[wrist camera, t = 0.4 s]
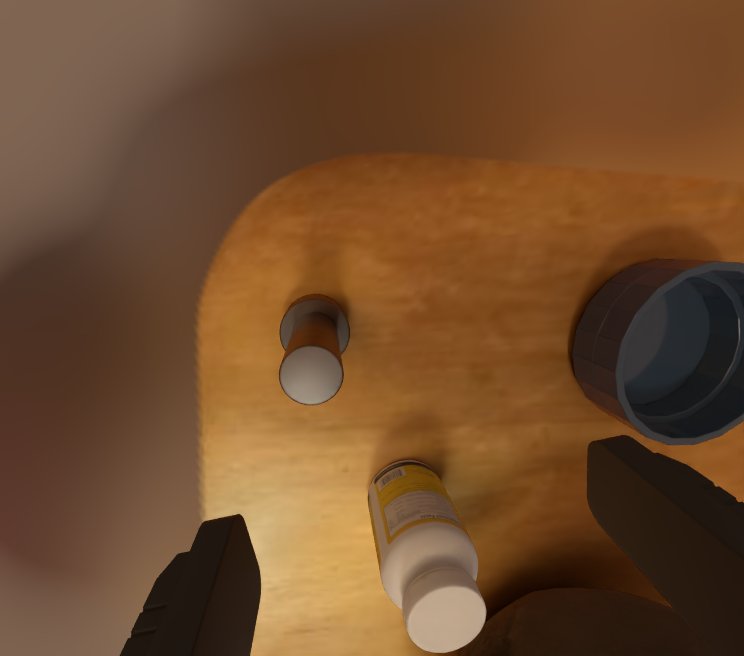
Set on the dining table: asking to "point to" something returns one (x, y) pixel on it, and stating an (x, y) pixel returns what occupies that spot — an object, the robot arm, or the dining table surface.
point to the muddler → (313, 349)
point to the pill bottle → (425, 557)
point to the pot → (586, 627)
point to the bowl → (667, 349)
